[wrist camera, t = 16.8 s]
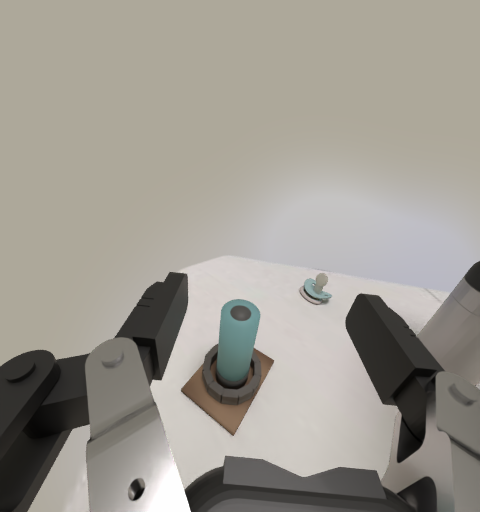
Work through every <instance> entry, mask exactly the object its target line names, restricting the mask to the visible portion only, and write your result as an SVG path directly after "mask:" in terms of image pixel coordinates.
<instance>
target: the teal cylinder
mask: <svg viewBox="0 0 480 512" xmlns="http://www.w3.org/2000/svg"><path fill="white" fill-rule="evenodd" d="M259 320H260V311H259V309H258V308H257V307H256V306H255V305H254V304H253V303H251V302H249V301H246V300H240V299H237V300H232V301H229V302H227V303H226V304H225V305H224V306H223V307H222V310H221V320H220V332H219V344H218V357H217V362H216V373H215V377H216V381H217V383H218V384H219V385H221V386H222V387H223V388H225V389H235V390H238V389H240V388H242V387H244V386H245V384H246V382H247V379H248V375H249V370H250V362H251V358H252V353H253V348H254V344H255V339H256V334H257V330H258V325H259Z"/></svg>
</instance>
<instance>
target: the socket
mask: <svg viewBox="0 0 480 512" xmlns="http://www.w3.org/2000/svg"><path fill="white" fill-rule="evenodd" d="M217 357H218V344H217V345H215V346H214V347H213V348H212V349H211V350H210V351H209V352H208V353H207V354H206V356H205V360H204V364H203V365H202V366H201V367H200V368H199V369H198V370H197V372H196V373H195V374H194V375H193V376H192V377H191V378H190V380H189V381H188V382H187V383H186V384H185V385H184V387H183V388H182V389H181V391H182V392H183V393H184V394H185V395H186V396H188V397H189V398H190V399H191V400H192V401H193V402H195V403H196V404H197V405H198V406H199V407H200V408H202V409H203V410H204V411H205V412H206V413H207V414H209V415H210V416H211V417H212V418H213V419H214V420H216V421H217V422H218V423H219V424H220V425H222V426H223V427H224V428H225V429H226V430H227V431H229V432H230V433H231V434H232V435H233V436H234V434H235V432H236V430H237V429H238V427H239V425H240V423H241V421H242V419H243V418H244V416H245V414H246V412H247V410H248V408H249V407H250V405H251V403H252V401H253V399H254V397H255V396H256V394H257V392H258V390H259V388H260V386H261V385H262V383H263V381H264V379H265V377H266V375H267V374H268V372H269V370H270V368H271V366H272V364H273V363H274V360H273V359H271V358H269V357H268V356H266V355H264V354H263V353H261V352H260V351H258V350H256V349H255V348H253V353H252V358H251V362H250V370H249V375H248V379H247V382H246V384H245V386H244V387H242V388H240V389H238V390H235V389H225V388H223V387H222V386H221V385H219V384H218V383H217V381H216V377H215V373H216V362H217Z"/></svg>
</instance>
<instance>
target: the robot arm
mask: <svg viewBox="0 0 480 512" xmlns="http://www.w3.org/2000/svg"><path fill="white" fill-rule="evenodd" d="M187 305H188V277H187V274H184V273H175V272H170V273H169V274H168V276H167V277H166V279H165V281H164V282H156V283H154V284H153V285H151V286H150V287H149V288H147V290H146V291H145V293H144V294H143V296H142V298H141V299H140V300H139V302H138V303H137V306H136V307H135V308H134V309H133V311H132V312H131V314H130V315H129V317H128V318H127V320H126V321H125V323H124V325H123V326H122V327H121V329H120V330H119V332H118V333H117V335H116V336H115V338H113V339H111V340H108V341H105V342H104V343H102V344H100V345H99V346H97V347H96V348H95V349H94V350H93V351H92V352H91V353H89V354H85V355H80V356H75V357H69V358H64V359H58V360H56V359H55V357H54V356H53V354H52V353H51V352H49V351H46V350H35V351H30V352H26V353H23V354H21V355H18V356H16V357H14V358H13V359H11V360H9V361H8V362H6V363H4V364H3V365H2V366H0V512H27V511H28V509H29V508H30V505H31V504H32V502H33V500H34V498H35V497H36V495H37V493H38V491H39V489H40V488H41V486H42V484H43V482H44V480H45V478H46V477H47V475H48V473H49V471H50V469H51V467H52V466H53V464H54V462H55V460H56V458H57V456H58V455H59V453H60V451H61V449H62V447H63V446H64V444H65V442H66V440H67V438H68V436H69V435H70V433H71V431H72V429H74V428H77V427H81V426H85V425H88V424H90V434H91V435H90V440H89V441H88V442H87V447H86V463H87V478H88V493H89V508H90V512H480V390H479V389H478V388H477V387H475V386H476V385H477V384H478V383H479V382H480V261H479V262H477V263H475V264H474V265H473V266H472V267H471V268H470V270H469V271H468V272H467V274H466V275H465V276H464V277H463V279H462V280H461V281H460V282H459V284H458V285H457V286H456V287H455V289H454V290H453V291H452V293H451V294H450V295H449V296H448V298H447V299H446V300H445V301H444V303H443V304H442V305H441V306H440V308H439V309H438V310H437V311H436V313H435V314H434V315H433V317H432V318H431V319H430V320H429V322H428V323H427V324H426V325H425V327H424V328H423V329H422V330H421V332H420V333H419V334H418V335H417V337H416V335H415V333H414V332H413V331H412V330H411V329H409V326H408V325H407V324H406V322H405V321H404V320H403V319H402V318H401V317H400V316H399V315H398V314H397V313H395V312H394V311H393V310H392V309H390V308H388V306H387V305H386V304H385V302H384V301H383V300H382V299H381V298H380V297H379V296H377V295H369V294H359V295H357V297H356V299H355V301H354V303H353V305H352V307H351V309H350V311H349V313H348V315H347V317H346V322H345V323H346V329H347V332H348V334H349V336H350V338H351V340H352V342H353V344H354V346H355V348H356V350H357V352H358V354H359V356H360V358H361V360H362V362H363V364H364V366H365V369H366V371H367V373H368V375H369V377H370V379H371V381H372V383H373V385H374V387H375V389H376V391H377V393H378V395H379V397H380V399H381V401H382V403H383V404H385V405H395V406H397V407H398V409H399V412H398V413H397V415H396V418H395V425H394V432H393V439H392V446H391V453H390V460H389V465H388V468H387V471H386V473H385V474H384V476H383V478H382V480H381V482H380V479H379V476H378V474H377V471H375V470H365V469H355V468H345V467H338V468H335V469H331V470H328V471H325V472H321V473H318V474H315V475H311V476H308V477H301V476H298V475H296V474H294V473H292V472H289V471H287V470H285V469H283V468H280V467H278V466H276V465H274V464H272V463H269V462H267V461H265V460H263V459H253V458H243V457H233V456H225V460H224V465H223V466H222V467H219V468H215V469H213V470H211V471H209V472H207V473H205V474H203V475H202V476H200V477H199V478H197V479H196V480H195V481H194V482H192V483H191V484H190V485H189V486H188V487H187V488H186V489H185V490H184V489H183V486H182V483H181V480H180V477H179V474H178V470H177V467H176V464H175V461H174V458H173V455H172V451H171V448H170V445H169V442H168V439H167V436H166V433H165V429H164V426H163V423H162V420H161V417H160V414H159V411H158V408H157V405H156V403H155V402H154V399H153V396H152V393H151V390H150V385H151V382H152V380H162V377H163V374H164V372H165V369H166V366H167V363H168V361H169V358H170V355H171V352H172V350H173V347H174V344H175V341H176V338H177V336H178V333H179V330H180V327H181V325H182V322H183V319H184V316H185V313H186V310H187Z"/></svg>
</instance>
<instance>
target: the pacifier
mask: <svg viewBox="0 0 480 512" xmlns="http://www.w3.org/2000/svg"><path fill="white" fill-rule="evenodd" d="M327 282H328V277H327V276H326V275H325V274H324V273H320V274H318V275H317V277H316V281H315V280H313V279H307V280H306V281H305V283H304V286H302V287H301V288H300V292H301V294H302V295H303V297H304V298H305V299H307V300H308V301H310V302H312V303H314V304H320V303H321V302H322V299H327V298H331V297H332V295H331V294H329V293H326V292H323V291H322V289H323V286H325V285H326V284H327ZM312 284H314V285H315V286H313V285H312ZM304 290H306V291H307V293H308V294H309V295H311V296H312V297H313V298H315V299H317V300H314V299H311V298H310V297H308V296H307V295H306V294H305V292H304Z"/></svg>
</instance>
